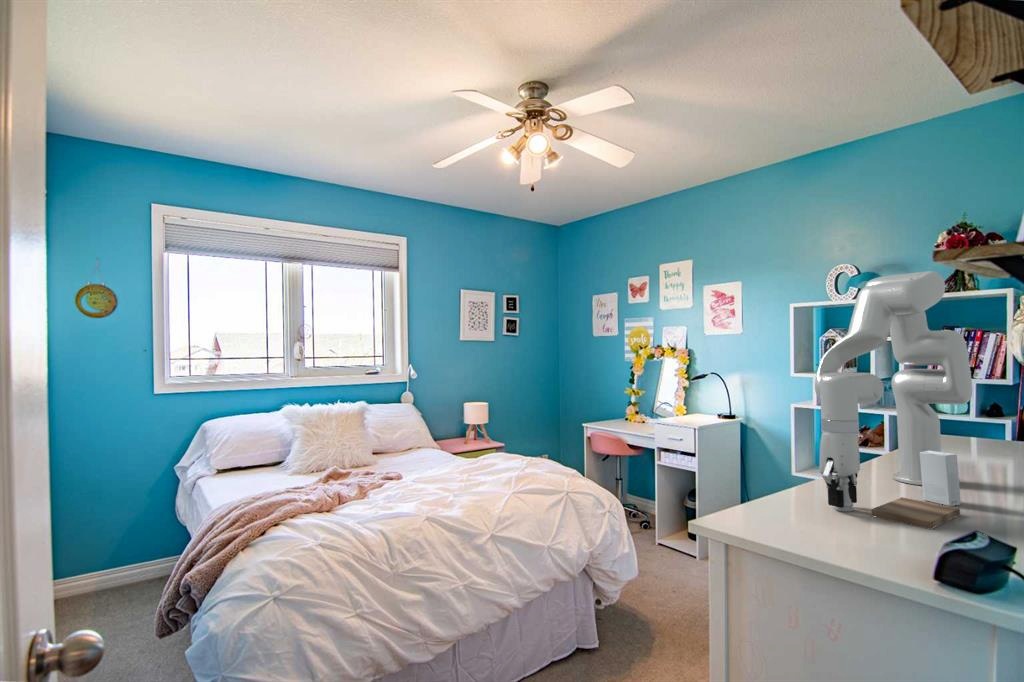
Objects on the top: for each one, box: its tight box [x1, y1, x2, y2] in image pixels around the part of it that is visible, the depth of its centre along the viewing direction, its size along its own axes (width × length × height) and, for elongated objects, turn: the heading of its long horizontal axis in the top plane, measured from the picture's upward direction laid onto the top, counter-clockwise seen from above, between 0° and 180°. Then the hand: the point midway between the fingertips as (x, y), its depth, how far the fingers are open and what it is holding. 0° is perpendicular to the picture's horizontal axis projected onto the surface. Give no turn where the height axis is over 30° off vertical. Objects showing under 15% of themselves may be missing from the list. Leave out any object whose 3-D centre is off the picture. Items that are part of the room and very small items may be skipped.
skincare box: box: [920, 451, 961, 507], centre depth 125 cm, size 6×4×12 cm
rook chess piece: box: [831, 474, 855, 513], centre depth 122 cm, size 4×4×8 cm
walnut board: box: [870, 496, 961, 530], centre depth 116 cm, size 16×11×2 cm
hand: (842, 503), depth 121 cm, fingers open, 5 cm apart
